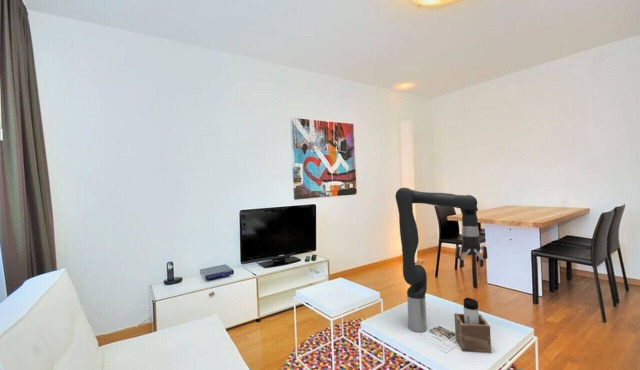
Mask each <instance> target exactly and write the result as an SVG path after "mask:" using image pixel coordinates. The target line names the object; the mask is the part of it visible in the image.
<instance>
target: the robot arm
mask: <svg viewBox="0 0 640 370" xmlns="http://www.w3.org/2000/svg"><path fill="white" fill-rule="evenodd" d="M395 202H396V205H397V211H398V220H399V221H398V222H399V223H398V225H399V236H400V242H401V252H402V254H401V255H402V275H403V279H404V281H405V282H406V284H407V285H409V288H407V290H406V300H407V320H408V321H407V323H408V329H409V330H411V331H413V332H416V333H423V332H426V331H427V305H426V303H427V302H426V293H427V290H428V289H427V285H428V279H427V278H428V276H427V272H426V269H425V267H424V266H422V265H421V264H416V259H415V258H416V257H415V256H416V253H417V249H418V246H419V231H418V225H417V222H416V219H415V216H414V210H413V208H414V207H413V204H423V205H424V204H426V205H431V206H436V207H445V208H456V209H461V214H462V215H461V216H462V217H461V225H462V227H461V238H462V239H461V240H462V241H461V242H462V245H461V246H459V245H455V258H456V259H459V266H460V267H462V268H465V260H464V259H465V258H466V257H467V256H477V257H478V258H479V259H478V261H479V262H478V264H479V268H483V267H484V260H487V259H488V248H487V247H486V246H485V245H482V246H480V231H479V224H478V223H479V222H478V219H479V218H478V215H477V206H478V200H477V198H476V197H475V196H473V195H470V194H465V195H464V194H463V195H462V194H454V193H449V192H447V193H446V192H428V191H427V192H425V191H420V190H419V191H417V190H414V189H411V188H408V187H400V188H398V189H397V191H396V192H395ZM461 251H462V253H461V254H460V252H461ZM479 251H482V254H481V253H480V252H479Z"/></svg>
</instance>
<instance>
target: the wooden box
mask: <svg viewBox="0 0 640 370" xmlns="http://www.w3.org/2000/svg"><path fill="white" fill-rule="evenodd" d="M453 314H454V334H455V340H456V341H457V343H458V345H459V347H460V350H461V351H462V352H470V353H483V354H484V353H485V354H492V345H491V344H492V340H491V339H492V338H491V325H490V324H489V323H488V322H487V321H486V319H485V318H484V317H483V316H482V314H480V313H479V324H464V313H453Z"/></svg>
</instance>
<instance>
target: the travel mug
mask: <svg viewBox="0 0 640 370" xmlns="http://www.w3.org/2000/svg"><path fill="white" fill-rule="evenodd" d="M463 314H464V324H479V314H480V312H479V302H478V301H477V300H476V299H474V298H470V297H464V299H463Z"/></svg>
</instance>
